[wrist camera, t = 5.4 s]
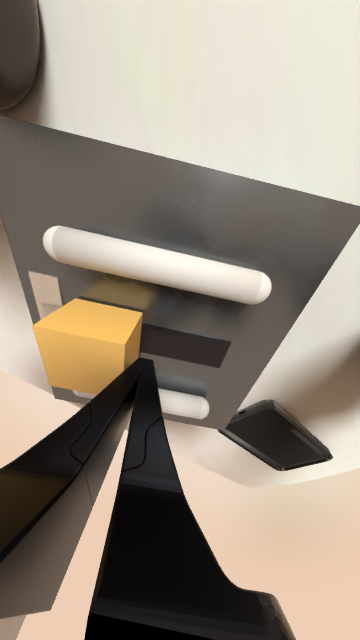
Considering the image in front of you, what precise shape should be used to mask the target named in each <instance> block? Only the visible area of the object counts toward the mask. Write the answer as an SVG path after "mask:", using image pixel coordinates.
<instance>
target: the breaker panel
mask: <svg viewBox="0 0 360 640" xmlns="http://www.w3.org/2000/svg"><path fill="white" fill-rule="evenodd" d="M0 213H1V216H2V219H3V223H4V226H5V230H6V233H7V236H8V240H9V243H10V247H11V250H12V253H13V257H14V260H15V264H16V267H17V270H18V274H19V277H20V281H21V284H22V287H23V291H24V294H25V298H26V301H27V304H28V308H29V311H30V315H31V318H32V322H33V325H34V324H35V323H37V322H39V321H40V320H42V319H43V318H45V317H47V316H48V315H50V314H51V313H53V312H54V311H56V310H58V309H59V308H61V307H62V306H64V305H65V304H67V303H69V302H70V301H72V300H73V299H75V298H76V299H81V300H86V301H90V302H95V303H100V304H104V305H109V306H114V307H118V308H123V309H128V310H132V311H137V312H142V313H143V318H142V327H141V337H140V347H139V357H141V358H146V359H151V360H153V361H154V367H155V373H156V378H157V384H158V388H161V389H166V390H171V391H176V392H181V393H186V394H191V395H196V396H201V397H203V398H205V399H206V400H207V401H208V403H209V413H208V415H207V416H206V417H205V418H203V419H195V418H190V417H184V416H179V415H174V414H169V413H163V412H162V414H163V415H162V416H163V419H166V420H171V421H176V422H182V423H187V424H192V425H197V426H203V427H208V428H213V429H219V430H224V429H225V428H226V426H227V425H228V423H229V422H230V420H231V419H232V417H233V416H234V414H235V413H236V411H237V410H238V408H239V407H240V405H241V403H242V402H243V400H244V399H245V397H246V396H247V394H248V393H249V391H250V390H251V388H252V387H253V385H254V384H255V382H256V381H257V379H258V378H259V376H260V375H261V373H262V371H263V370H264V368H265V367H266V365H267V364H268V362H269V361H270V359H271V358H272V356H273V355H274V353H275V352H276V350H277V349H278V347H279V346H280V344H281V343H282V341H283V339H284V338H285V336H286V335H287V333H288V332H289V330H290V329H291V327H292V326H293V324H294V323H295V321H296V320H297V318H298V317H299V315H300V314H301V312H302V311H303V309H304V307H305V306H306V304H307V303H308V301H309V300H310V298H311V297H312V295H313V294H314V292H315V291H316V289H317V288H318V286H319V285H320V283H321V282H322V280H323V279H324V277H325V276H326V274H327V272H328V271H329V269H330V268H331V266H332V265H333V263H334V262H335V260H336V259H337V257H338V256H339V254H340V253H341V251H342V250H343V248H344V247H345V245H346V244H347V242H348V240H349V239H350V237H351V236H352V234H353V233H354V231H355V230H356V228H357V227H358V225H359V224H360V206H357V205H353V204H349V203H345V202H341V201H337V200H333V199H329V198H325V197H321V196H317V195H313V194H309V193H305V192H301V191H297V190H293V189H289V188H285V187H281V186H277V185H273V184H269V183H266V182H262V181H258V180H254V179H250V178H246V177H242V176H238V175H234V174H230V173H226V172H222V171H218V170H214V169H210V168H206V167H202V166H198V165H194V164H190V163H186V162H182V161H178V160H174V159H170V158H166V157H162V156H159V155H155V154H151V153H147V152H143V151H139V150H135V149H131V148H127V147H123V146H119V145H115V144H111V143H107V142H103V141H99V140H95V139H91V138H87V137H83V136H79V135H75V134H71V133H67V132H63V131H59V130H55V129H51V128H48V127H44V126H40V125H36V124H32V123H28V122H24V121H20V120H16V119H12V118H8V117H4V116H0ZM53 226H65V227H69V228H74V229H78V230H83V231H87V232H91V233H96V234H100V235H104V236H109V237H113V238H117V239H122V240H126V241H130V242H135V243H139V244H143V245H148V246H152V247H156V248H161V249H165V250H169V251H174V252H178V253H182V254H187V255H191V256H195V257H200V258H204V259H208V260H213V261H217V262H221V263H226V264H230V265H234V266H239V267H243V268H247V269H252V270H256V271H260V272H263V273H264V274H266V275H267V276H268V277H269V279H270V281H271V292H270V294H269V296H268V297H267V298H266V299H265V300H264V301H263V302H261V303H258V304H252V305H251V304H245V303H240V302H236V301H231V300H227V299H222V298H218V297H213V296H209V295H204V294H200V293H195V292H191V291H186V290H182V289H177V288H173V287H168V286H164V285H159V284H155V283H150V282H146V281H141V280H137V279H132V278H128V277H123V276H119V275H114V274H110V273H105V272H101V271H96V270H92V269H87V268H83V267H78V266H74V265H69V264H64V263H61V262H58V261H56V260H55V259H53V258H52V257H51V256H50V255H49V254H48V253H47V252H46V250H45V248H44V245H43V236H44V233H45V232H46V231H47V230H48V229H49V228H51V227H53ZM139 357H138V358H139ZM52 390H53V393H54V396H55V399H61V400H66V401H71V402H76V403H82V404H87V403H88V402H90V401H91V400H92V399H90V398H85V397H80V396H77V395H75V394H74V393H73V391H72V390H70V389H65V388H60V387H54V386H52Z"/></svg>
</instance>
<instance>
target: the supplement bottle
mask: <svg viewBox="0 0 360 640" xmlns="http://www.w3.org/2000/svg"><path fill="white" fill-rule="evenodd" d="M39 50H40V28H39V16H38V8H37V1H36V0H0V110H3V109H7V108H10V107H12V106H14V105H16V104H17V103H18V102H20V101H21V100H22V99H23V98H24V96H25V95H26V94H27V92H28V91H29V89H30V88H31V85H32V83H33V81H34V78H35V75H36V71H37V66H38V60H39Z"/></svg>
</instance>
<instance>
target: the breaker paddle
mask: <svg viewBox="0 0 360 640" xmlns="http://www.w3.org/2000/svg"><path fill="white" fill-rule="evenodd" d="M142 318H143V313H142V312H137V311H132V310H128V309H123V308H118V307H114V306H109V305H104V304H100V303H95V302H90V301H86V300H81V299H76V298H75V299H73V300H72V301H70V302H69V303H67V304H65V305H64V306H62V307H61V308H59V309H58V310H56V311H54V312H53V313H51V314H50V315H48V316H47V317H45V318H43V319H42V320H40V321H39V322H37V323H35V324H34V325H32V327H33V330H34V333H35V337H36V340H37V343H38V347H39V350H40V353H41V357H42V360H43V363H44V367H45V370H46V373H47V377H48V380H49V384H50V386H54V387H60V388H65V389H70V390H75V391H80V392H86V393H91V394H96V395H97V394H99V393H100V392H101V391H102V390H103V389H104V388H105V387H106V386H107V385H109V384H110V383H111V382H112V381H113V380H114V379H115V378H116V377H118V376H119V375H120V374H121V373H122V372H123V371H124V370H125V369H127V368H128V367H129V366H130V365H131V364H132V363H133V362H134V361H136V360H137V359H138V357H139V347H140V337H141V327H142Z"/></svg>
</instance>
